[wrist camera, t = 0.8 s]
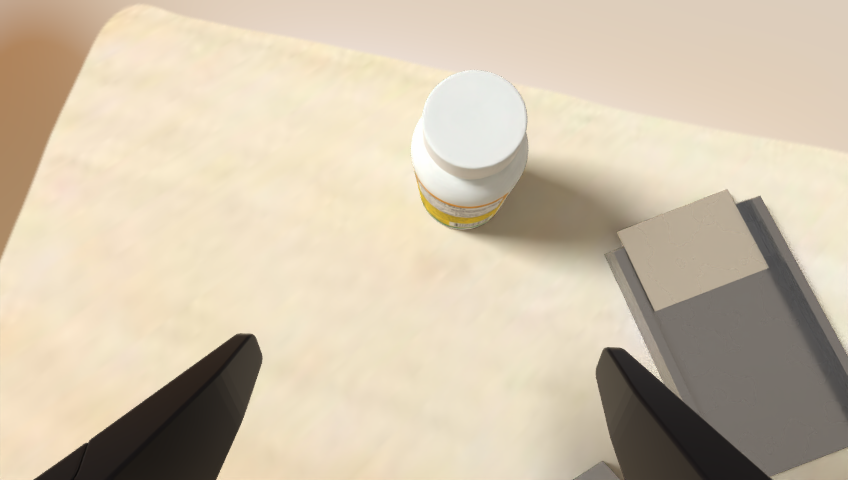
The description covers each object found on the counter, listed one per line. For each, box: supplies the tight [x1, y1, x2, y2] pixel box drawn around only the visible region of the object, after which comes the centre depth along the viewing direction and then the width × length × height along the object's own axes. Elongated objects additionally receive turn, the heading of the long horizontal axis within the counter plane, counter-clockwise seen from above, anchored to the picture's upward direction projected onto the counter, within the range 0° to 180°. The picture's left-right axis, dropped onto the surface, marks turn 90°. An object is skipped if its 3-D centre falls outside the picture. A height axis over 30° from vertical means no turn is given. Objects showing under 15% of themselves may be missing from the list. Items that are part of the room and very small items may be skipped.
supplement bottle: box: [411, 70, 528, 230], centre depth 18 cm, size 5×5×10 cm
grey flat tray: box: [604, 190, 848, 477], centre depth 20 cm, size 15×9×1 cm, turn 21°
